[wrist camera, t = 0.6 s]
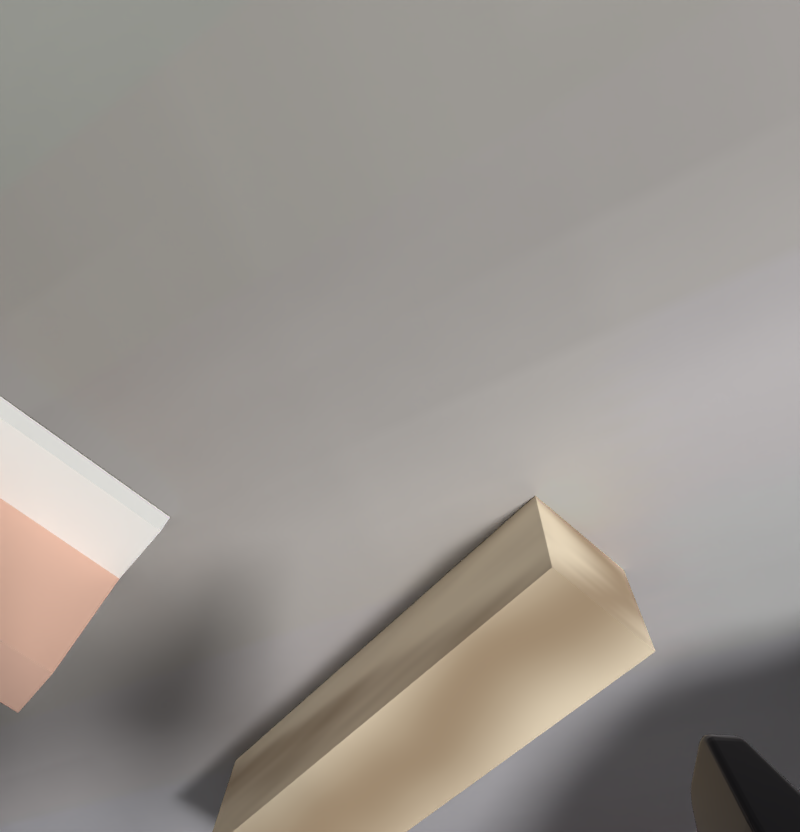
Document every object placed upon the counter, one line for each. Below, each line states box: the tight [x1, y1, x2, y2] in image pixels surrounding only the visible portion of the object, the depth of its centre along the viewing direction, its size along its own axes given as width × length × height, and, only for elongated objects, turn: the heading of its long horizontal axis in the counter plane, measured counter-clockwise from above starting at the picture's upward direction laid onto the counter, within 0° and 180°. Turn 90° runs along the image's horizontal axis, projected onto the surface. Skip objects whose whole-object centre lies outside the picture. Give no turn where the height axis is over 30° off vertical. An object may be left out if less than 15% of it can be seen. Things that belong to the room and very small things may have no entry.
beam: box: [213, 496, 655, 832], centre depth 23 cm, size 4×16×4 cm, turn 139°
